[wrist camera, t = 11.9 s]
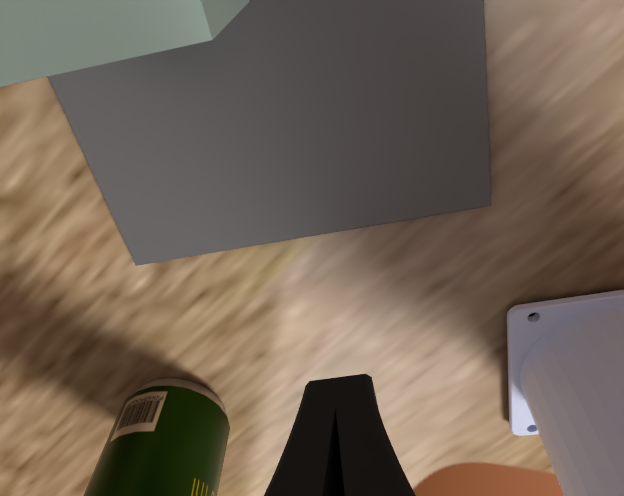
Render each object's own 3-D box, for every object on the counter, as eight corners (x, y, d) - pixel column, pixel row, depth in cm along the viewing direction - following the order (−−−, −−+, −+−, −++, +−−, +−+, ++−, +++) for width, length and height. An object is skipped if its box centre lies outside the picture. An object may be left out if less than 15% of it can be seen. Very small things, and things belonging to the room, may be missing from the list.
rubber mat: (467, -318, 12) (471, -325, 12) (488, 200, 20) (491, 205, 19) (-55, -161, 14) (-64, -164, 14) (138, 260, 22) (135, 265, 21)
